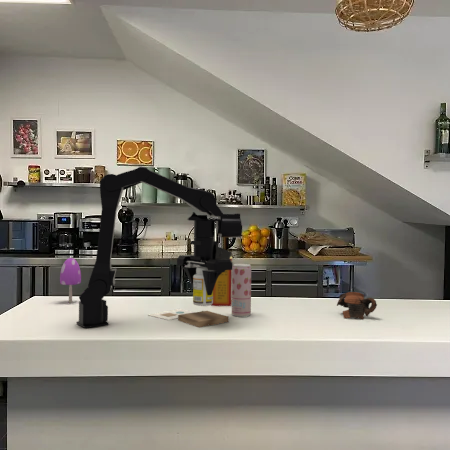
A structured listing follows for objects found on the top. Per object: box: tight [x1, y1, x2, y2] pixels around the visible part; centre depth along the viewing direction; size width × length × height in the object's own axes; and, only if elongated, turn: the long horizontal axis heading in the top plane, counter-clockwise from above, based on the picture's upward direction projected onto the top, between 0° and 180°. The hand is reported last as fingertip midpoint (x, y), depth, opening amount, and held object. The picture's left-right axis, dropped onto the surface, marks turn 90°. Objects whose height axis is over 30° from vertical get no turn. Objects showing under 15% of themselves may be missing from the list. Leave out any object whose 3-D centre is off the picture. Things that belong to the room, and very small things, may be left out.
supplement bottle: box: [192, 266, 213, 307], centre depth 118 cm, size 6×6×10 cm
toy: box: [59, 257, 82, 304], centre depth 143 cm, size 7×7×15 cm
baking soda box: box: [210, 256, 233, 307], centre depth 146 cm, size 10×6×16 cm
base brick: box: [177, 310, 230, 328], centre depth 118 cm, size 10×10×2 cm
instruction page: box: [147, 308, 196, 321], centre depth 126 cm, size 12×9×1 cm
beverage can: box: [231, 263, 252, 318], centre depth 127 cm, size 6×6×15 cm
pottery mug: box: [336, 291, 378, 320], centre depth 127 cm, size 12×10×8 cm
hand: (203, 293), depth 118 cm, fingers closed on supplement bottle, 5 cm apart
